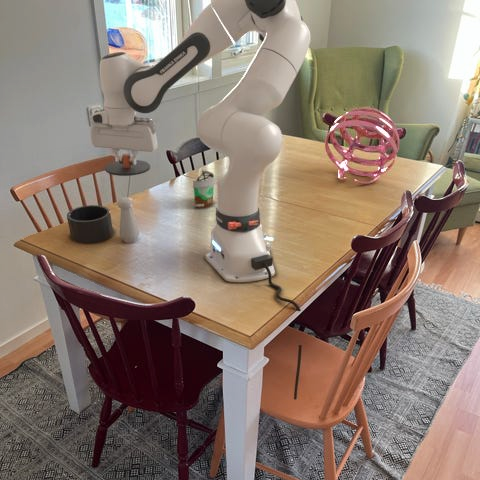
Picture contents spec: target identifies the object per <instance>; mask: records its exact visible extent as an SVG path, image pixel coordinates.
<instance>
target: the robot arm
mask: <svg viewBox="0 0 480 480" xmlns="http://www.w3.org/2000/svg"><path fill="white" fill-rule="evenodd" d="M252 32H254V33H255V32H256V33H257V34H258V39H259V40H260V41H261V42H262V43H261V44H260V46H259V48H258V50H257V51H256V54H255V55H254V57H253V59H252V61H251V62H250V64H249V66H248V68H247V70H246V71H245V73H244V74H243V77H242V78H241V79H240V80H239V82H238V83H237V84H236V86H235V87H234V88H232V89H231V91H230V92H229V93H228V94H226V96H225V97H224V98H223V99H222V100H220V101H219V102H218V103H216V104H214V105H212V106H211V107H208V108H207V109H205V110H203V112H202V113H201V114H200V115H199V117H198V120H197V123H196V133H197V136H198V138H199V140H200V141H201V143H202V144H204V145H205V146H206V147H208V148H209V149H210V150H212V151H214V152H216V153H219V154H222V155H224V156H227V157H228V158H229V165H228V168H227V171H226V172H224V173H223V174H222V175H221V176H220V177H219V178H218V180H217V181H216V182H217V183H216V195H217V196H216V198H217V199H216V200H217V205H216V206H217V207H216V209H215V222H216V224H215V225H214V227H213V228H212V229H211V230H210V251H209V252H208V253H206V254H205V260H206V261H207V263H209V264H210V265H211V267H212V268H213V269H214V270H215V271H216V272H217V273H218V275H220V276H221V277H222V279H224V280H225V282H228V283H229V282H230V283H249V282H250V283H251V282H256V281H257V282H258V281H262V280H266V279H268V283H269V286H271V287H272V288H275V289H277V292H276V298H277V299H278V300H280V301H282V302H284V303H285V302H286V303H289V304H292V305H293V306H294V307H295V309H296V310H297V312H301V311H302V310H301V308H300V305H299V304H298V303H297V302H295V301H294V300H292V299H289V298H284V297H282V296H281V295H280V294H281V293H282V287H281V286H280V285H277V284H275V283H273V281H272V277H273V276H275V274H276V271H275V267H274V264H273V263H274V262H273V261H274V257H273V256H271V253H270V252H271V251H272V243H271V242H266V241H272V242H273V241H274V237H269V236H267V233H266V232H263V224H261V213H260V212H261V211H260V208H259V198H260V197H259V194H260V184H261V179H262V176H263V173H264V171H265V169H266V168H267V167H268V166H269V165H270V164H272V163H274V161H275V160H276V159H277V158H278V157H279V155H280V153H281V150H282V147H283V133H282V130H281V129H280V127H279V126H278V125H277V124H275V123H274V122H272V121H271V120H269V119H267V118H266V117H264V116H263V115H264V114H266V113H267V112H269V111H272V110H274V109H276V108H278V107H279V106H280V105H281V104H282V103H283V101H284V99H285V97H286V95H287V94H288V92H289V91H290V88H291V86H292V84H293V83H294V81H295V79H296V77H297V76H298V73H299V71H300V70H301V68H302V65H303V63H304V60H305V58H306V56H307V53H308V50H309V47H310V44H311V39H312V36H311V31H310V29H309V26H308V24H306V23H305V22H304V19H303V17H302V15H301V13H300V9H299V6H298V4H297V1H296V0H213V1H211V2H210V3H209V4H208V5H207V6H206V7H205V8H204V9H203V10H201V12H200V13H199V14H198V15H197V17H195V19H194V20H193V22H192V23H191V24H190V26H189V28H188V29H187V31H186V33H185V34H184V36H183V38H182V39H181V40H180V42H179V43H178V44H177V45H176V46H175V47H174V48H173V49H172V50H171V51H170V52H169V53H168V54H166V55H165V56H164V57H163V58H161V59H160V61H158V62H157V63H156V64H155V65H154V66H152V65H149V64H146V63H143V62H141V61H139V60H137V59H135V58H133V57H132V56H130V55H129V54H128V53H127V52H124V51H118V52H117V51H116V52H112V53H109V54H106V55H104V56H103V57H102V58H101V59H100V61H99V80H100V88H101V91H102V94H103V98H104V99H103V109H101V110H99V111H96V112H94V113H92V114H90V115H89V121H90V123H91V124H90V127H89V129H90V133H89V134H90V141H91V144H92V145H93V146H94V147H95V148H100V149H101V148H102V149H112V153H113V155H114V157H116V159H117V161H118V163H119V164H123V160H122V154H121V153H120V151H121V150H123V151H130V152H131V154H132V156H131V158H130V159H129V161H130V165H135V164H136V160H137V158H138V155H139V152H147V153H152V152H155V150H157V148H158V146H159V145H158V138H157V133H156V123H155V121H153V120H152V119H151V118H150V117H140V116H137V113H140V114H150V113H153V112H154V111H156V110H157V109H158V108H159V106H160V105H161V103H162V100H163V98H164V96H165V94H166V93H167V92H168V90H169V89H170V88H172V86H174V85H175V84H176V83H177V82H178V81H179V80H180V79H182V78H183V77H185V75H187V74H188V73H189V72H190V71H191V70H193V69H194V68H196V67H197V66H199V65H201V64H203V63H205V62H208V61H209V60H211V59H213V58H215V57H217V56H219V55H221V54H222V53H224V52H225V51H227V50H228V49H230V48H231V47H233V46H234V45H235V44H236V43H238V42H239V41H240V40H241V39H243V37H244V36H246V35H247V34H249V33H252ZM302 347H303V345H302V344H298V353H297V364H296V365H297V366H296V373H295V380H294V391H293V400H294V401H296V400H297V399H298V388H299V387H298V386H299V380H300V379H299V378H300V371H301V362H302V361H301V360H302Z"/></svg>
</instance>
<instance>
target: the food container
mask: <svg viewBox="0 0 480 480" xmlns="http://www.w3.org/2000/svg"><path fill="white" fill-rule="evenodd" d="M216 182H217V180H216V177H215V175H214V173H213V172H211V171H210V170H209V171H208V170H203V169H202V170H201V174H200V175H198V177H197V179H196V180H193V181H192V188H193V195H194V207H195V209H207V208H210V207H211V206H213V204H214V189H215V188H214V187H215V184H216Z"/></svg>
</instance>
